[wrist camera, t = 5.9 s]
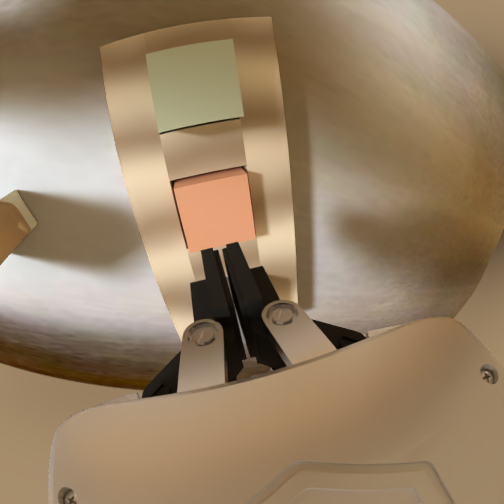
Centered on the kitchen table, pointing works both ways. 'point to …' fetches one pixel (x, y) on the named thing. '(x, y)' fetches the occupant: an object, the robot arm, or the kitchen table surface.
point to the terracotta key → (215, 208)
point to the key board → (204, 155)
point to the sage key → (194, 84)
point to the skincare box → (13, 223)
